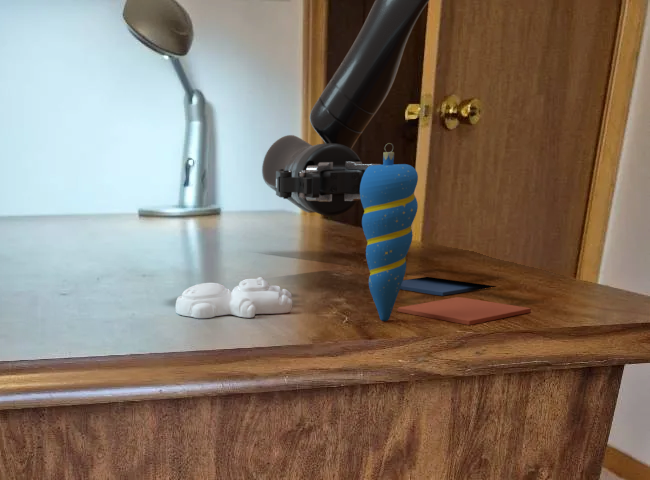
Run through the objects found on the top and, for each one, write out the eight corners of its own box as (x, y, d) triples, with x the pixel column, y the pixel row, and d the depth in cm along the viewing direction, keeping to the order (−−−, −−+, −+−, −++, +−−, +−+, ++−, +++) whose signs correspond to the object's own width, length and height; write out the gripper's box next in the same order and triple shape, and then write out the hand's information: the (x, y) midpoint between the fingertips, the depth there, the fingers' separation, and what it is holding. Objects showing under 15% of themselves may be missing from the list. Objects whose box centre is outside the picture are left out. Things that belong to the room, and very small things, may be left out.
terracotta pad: (458, 300, 83) (458, 296, 83) (530, 312, 76) (531, 308, 76) (397, 311, 78) (397, 307, 78) (469, 325, 72) (469, 320, 72)
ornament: (415, 326, 72) (428, 142, 65) (358, 327, 72) (366, 143, 65) (404, 315, 76) (415, 142, 70) (351, 316, 76) (357, 144, 70)
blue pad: (436, 278, 97) (436, 275, 97) (496, 286, 90) (496, 283, 90) (383, 286, 92) (383, 283, 92) (442, 296, 86) (443, 292, 85)
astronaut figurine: (290, 318, 76) (291, 285, 75) (169, 319, 78) (167, 287, 76) (294, 302, 84) (294, 272, 83) (184, 303, 85) (182, 274, 84)
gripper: (264, 145, 91) (288, 144, 76) (385, 142, 92) (430, 141, 78) (265, 215, 94) (288, 227, 80) (381, 211, 95) (424, 223, 81)
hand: (358, 185), depth 79 cm, fingers open, 8 cm apart
